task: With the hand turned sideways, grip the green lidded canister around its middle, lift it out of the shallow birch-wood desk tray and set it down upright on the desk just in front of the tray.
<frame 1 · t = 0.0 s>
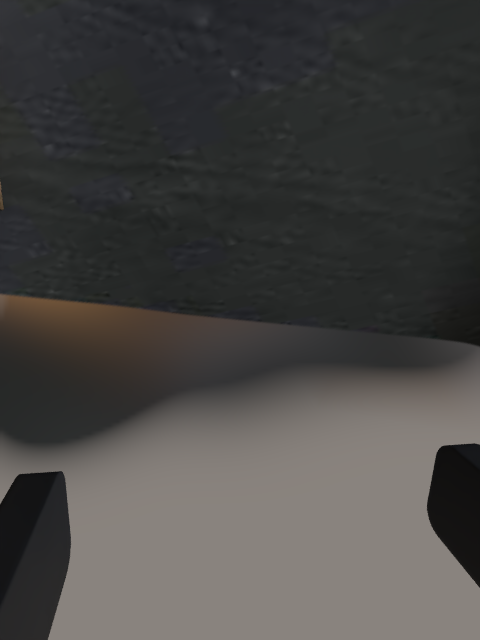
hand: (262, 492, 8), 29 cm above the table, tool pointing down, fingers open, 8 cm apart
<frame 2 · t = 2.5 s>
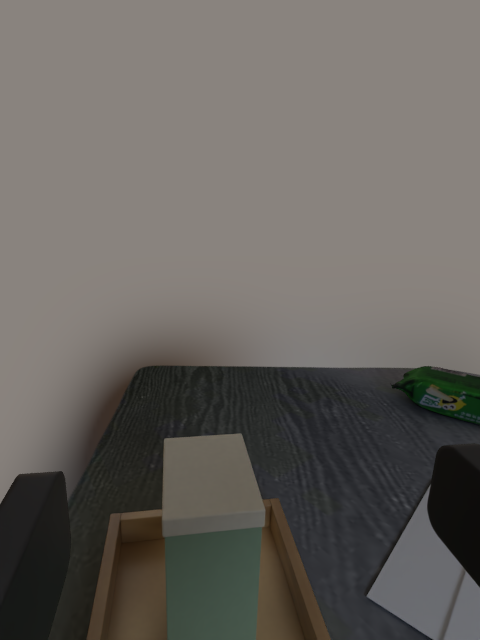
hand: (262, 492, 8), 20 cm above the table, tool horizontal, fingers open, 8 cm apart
desk tray: (206, 639, 25), on the table
snack package: (453, 413, 55), on the table
green lidded canister: (206, 636, 25), resting on desk tray
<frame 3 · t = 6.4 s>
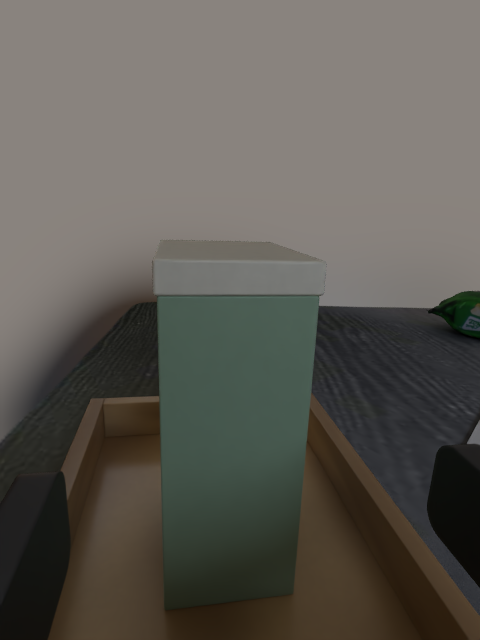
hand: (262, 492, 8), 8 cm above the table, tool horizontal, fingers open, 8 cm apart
desk tray: (220, 537, 17), on the table
green lidded canister: (220, 531, 17), resting on desk tray
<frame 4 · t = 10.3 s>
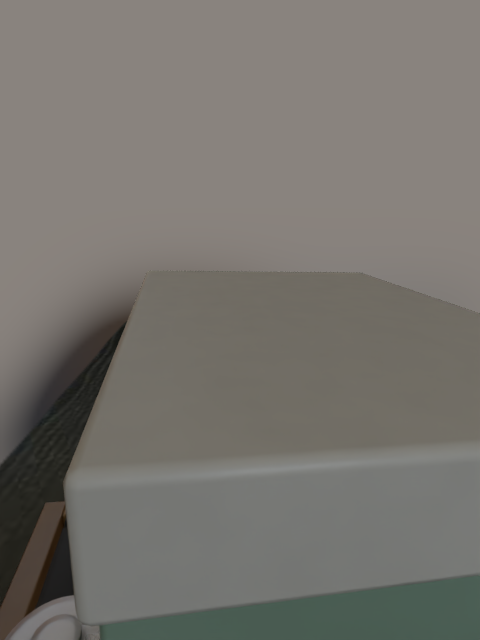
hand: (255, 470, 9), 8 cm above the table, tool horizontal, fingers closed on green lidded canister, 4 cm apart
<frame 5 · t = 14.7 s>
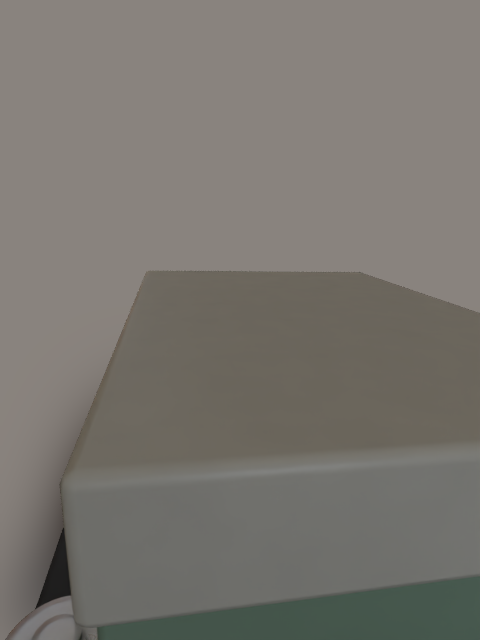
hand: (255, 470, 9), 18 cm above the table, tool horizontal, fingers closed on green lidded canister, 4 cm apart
when the fingers open (7 cm above the table, at t = 19.4 s): green lidded canister stays where it is, on the table.
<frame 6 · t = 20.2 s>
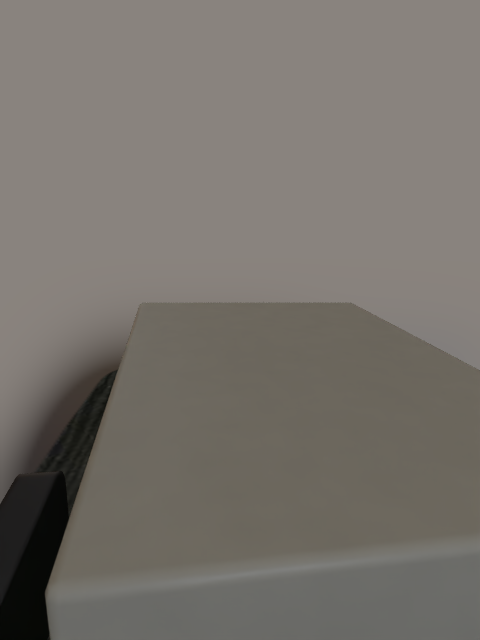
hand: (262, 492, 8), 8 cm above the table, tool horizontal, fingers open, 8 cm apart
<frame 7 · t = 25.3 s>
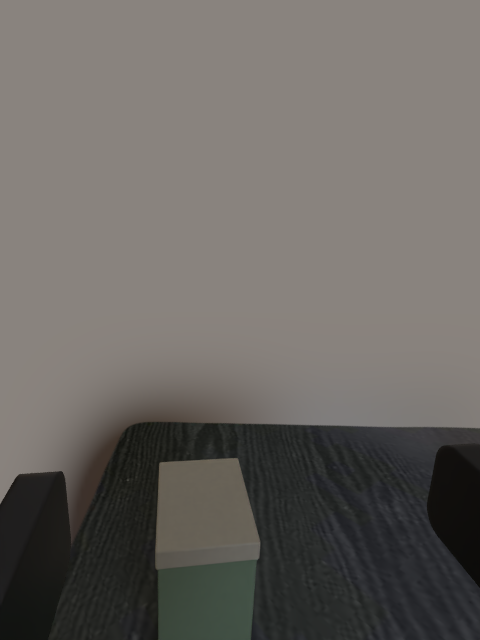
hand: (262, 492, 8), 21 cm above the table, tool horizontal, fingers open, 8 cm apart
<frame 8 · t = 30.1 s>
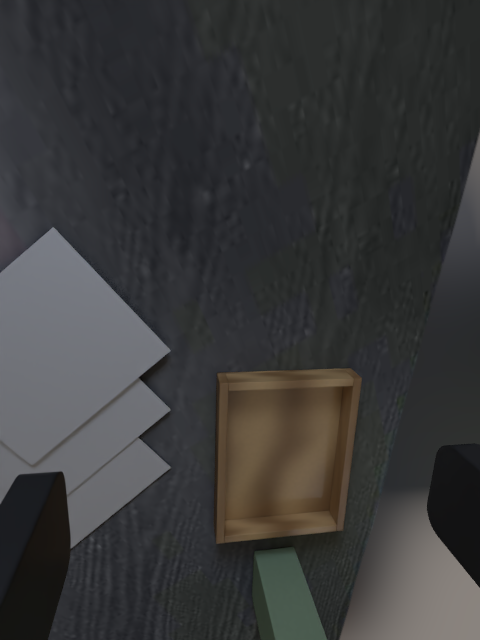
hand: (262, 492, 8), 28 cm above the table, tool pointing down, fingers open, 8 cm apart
desk tray: (280, 449, 41), on the table
paper stack: (50, 416, 36), on the table
green lidded canister: (272, 571, 46), on the table
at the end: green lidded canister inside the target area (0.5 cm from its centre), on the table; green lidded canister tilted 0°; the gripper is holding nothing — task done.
